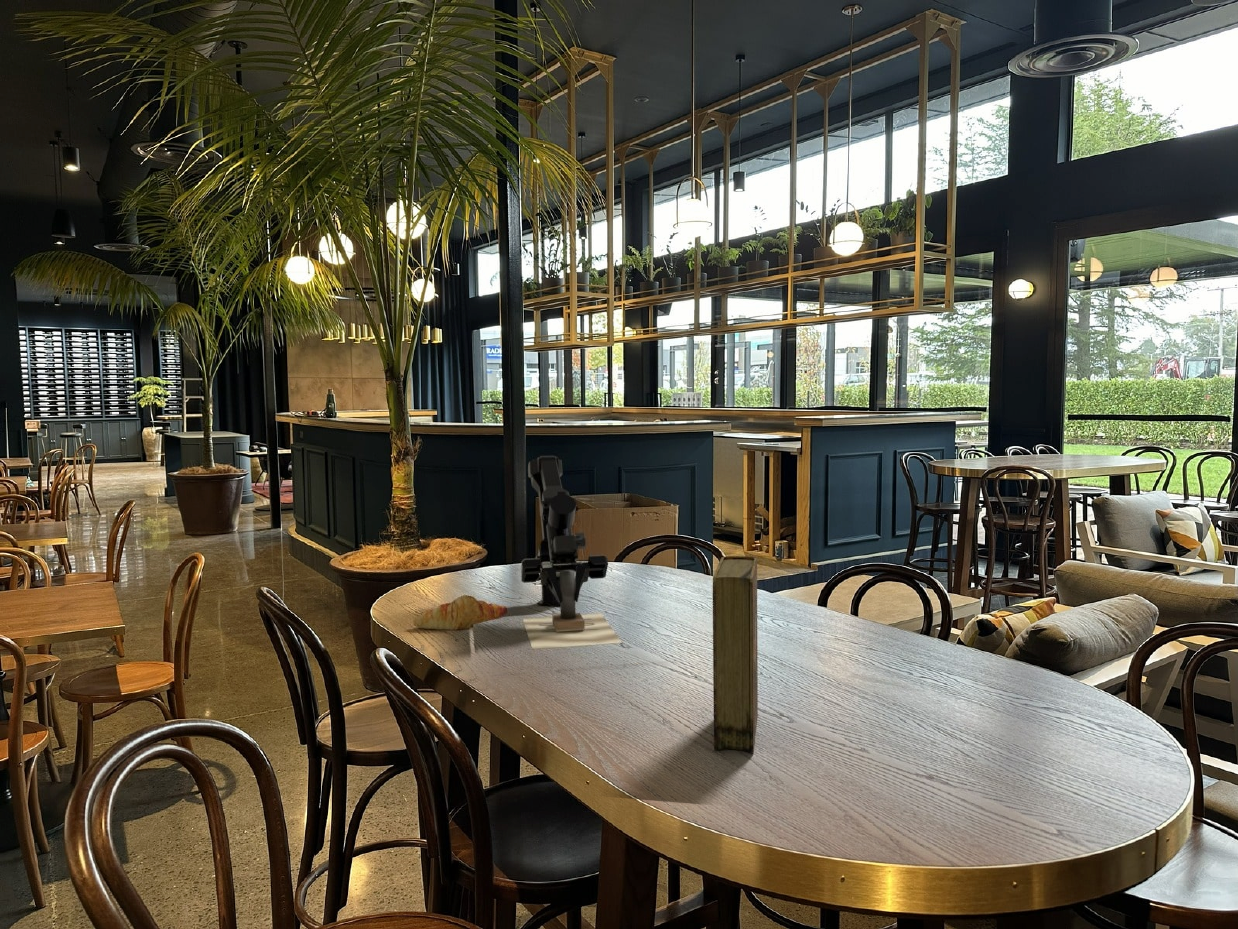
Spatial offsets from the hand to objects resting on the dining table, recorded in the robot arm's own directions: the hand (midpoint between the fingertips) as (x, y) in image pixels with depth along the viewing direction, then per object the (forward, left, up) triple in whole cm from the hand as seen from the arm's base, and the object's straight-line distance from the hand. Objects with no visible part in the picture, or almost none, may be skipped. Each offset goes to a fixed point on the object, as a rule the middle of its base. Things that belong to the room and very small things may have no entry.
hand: (568, 601), depth 179 cm
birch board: (0, 0, -7) cm, 7 cm away
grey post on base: (-1, -1, -6) cm, 6 cm away
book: (+45, +42, -7) cm, 62 cm away
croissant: (-2, -27, -7) cm, 28 cm away
